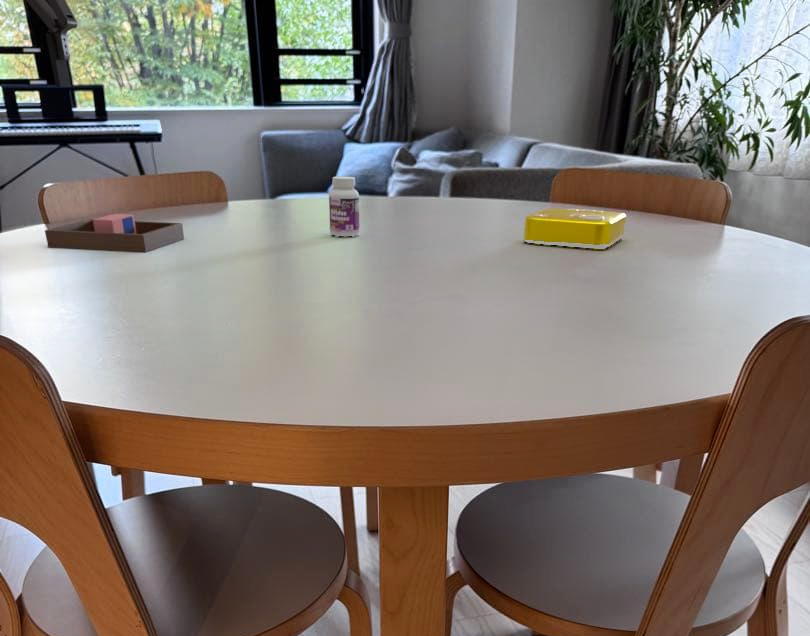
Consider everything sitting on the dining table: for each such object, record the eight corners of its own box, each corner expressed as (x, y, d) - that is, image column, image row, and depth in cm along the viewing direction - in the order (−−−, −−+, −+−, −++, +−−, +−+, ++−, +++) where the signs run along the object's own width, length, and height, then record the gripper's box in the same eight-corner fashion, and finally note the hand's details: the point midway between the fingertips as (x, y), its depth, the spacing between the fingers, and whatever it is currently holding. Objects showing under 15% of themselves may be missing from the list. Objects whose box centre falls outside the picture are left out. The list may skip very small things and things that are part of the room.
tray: (48, 247, 124) (44, 230, 123) (93, 234, 136) (91, 219, 134) (145, 252, 121) (143, 235, 120) (184, 238, 132) (182, 223, 131)
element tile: (624, 238, 137) (629, 210, 135) (605, 251, 126) (610, 220, 123) (545, 232, 143) (548, 204, 141) (520, 243, 131) (522, 214, 129)
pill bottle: (328, 237, 135) (325, 178, 130) (332, 232, 140) (330, 175, 135) (357, 238, 135) (356, 178, 130) (361, 233, 139) (360, 176, 135)
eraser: (116, 242, 125) (112, 220, 123) (96, 242, 125) (92, 219, 124) (137, 236, 131) (134, 214, 129) (118, 235, 131) (114, 213, 130)
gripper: (82, -95, 102) (112, 87, 113) (-76, -89, 107) (-33, 86, 117) (49, -108, 96) (83, 87, 107) (-119, -101, 100) (-69, 85, 111)
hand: (22, 86), depth 112 cm, fingers open, 13 cm apart
